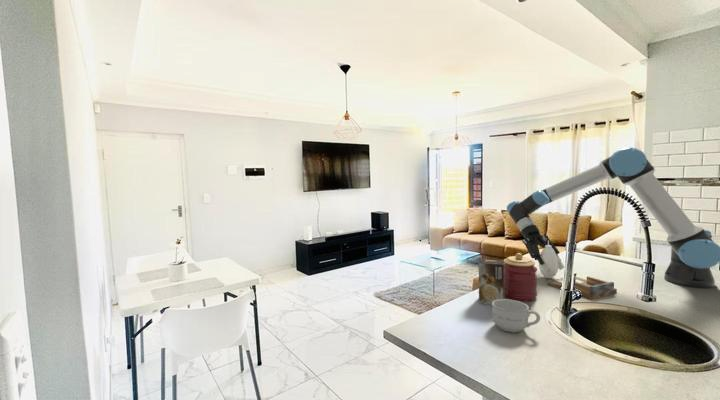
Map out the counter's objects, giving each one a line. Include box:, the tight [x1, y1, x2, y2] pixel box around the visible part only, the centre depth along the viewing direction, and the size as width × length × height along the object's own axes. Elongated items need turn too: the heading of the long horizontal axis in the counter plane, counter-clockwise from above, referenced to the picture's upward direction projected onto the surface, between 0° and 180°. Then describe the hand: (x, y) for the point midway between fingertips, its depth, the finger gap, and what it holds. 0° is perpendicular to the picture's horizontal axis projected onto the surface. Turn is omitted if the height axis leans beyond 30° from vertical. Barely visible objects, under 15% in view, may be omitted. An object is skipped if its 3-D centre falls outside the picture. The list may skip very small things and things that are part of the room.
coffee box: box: [478, 258, 505, 306], centre depth 124 cm, size 9×6×16 cm
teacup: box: [491, 298, 541, 333], centre depth 102 cm, size 14×11×8 cm
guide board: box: [547, 276, 618, 300], centre depth 135 cm, size 16×18×4 cm
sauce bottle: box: [538, 239, 559, 279], centre depth 148 cm, size 8×8×18 cm
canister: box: [503, 252, 538, 303], centre depth 129 cm, size 13×13×18 cm
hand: (555, 269), depth 145 cm, fingers closed on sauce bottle, 7 cm apart
